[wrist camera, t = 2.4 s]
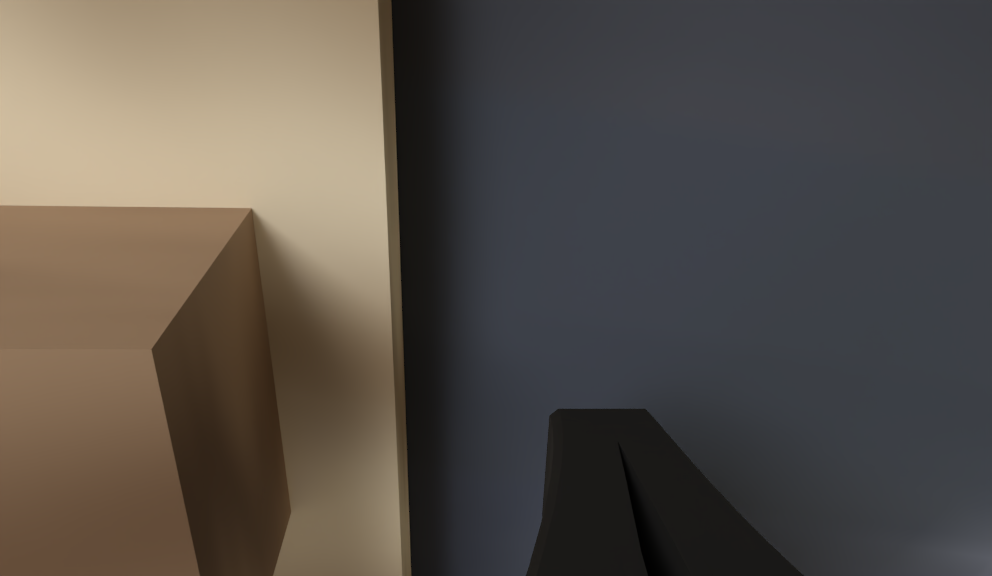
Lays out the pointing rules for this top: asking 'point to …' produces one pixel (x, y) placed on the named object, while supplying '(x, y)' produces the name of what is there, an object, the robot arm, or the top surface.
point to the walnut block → (136, 395)
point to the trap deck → (250, 184)
